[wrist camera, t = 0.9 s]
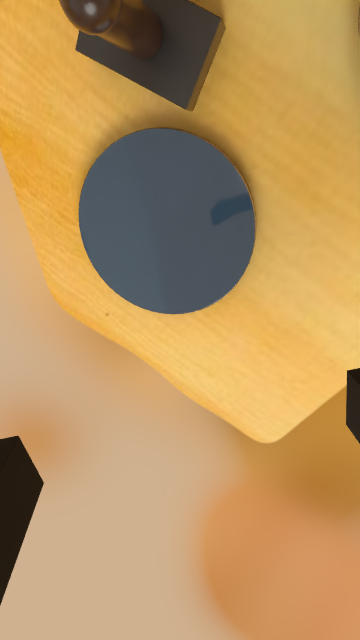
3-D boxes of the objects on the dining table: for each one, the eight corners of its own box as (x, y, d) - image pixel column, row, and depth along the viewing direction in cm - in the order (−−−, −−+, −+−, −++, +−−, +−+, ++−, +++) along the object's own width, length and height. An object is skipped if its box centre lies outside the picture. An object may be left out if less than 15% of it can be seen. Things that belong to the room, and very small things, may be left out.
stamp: (89, 56, 29) (-22, 8, 18) (110, -35, 26) (-9, -158, 15) (192, 111, 29) (142, 96, 18) (225, 27, 26) (189, -51, 15)
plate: (65, 141, 33) (58, 141, 32) (255, 114, 28) (254, 113, 27) (103, 308, 41) (99, 313, 40) (256, 310, 36) (256, 315, 35)
